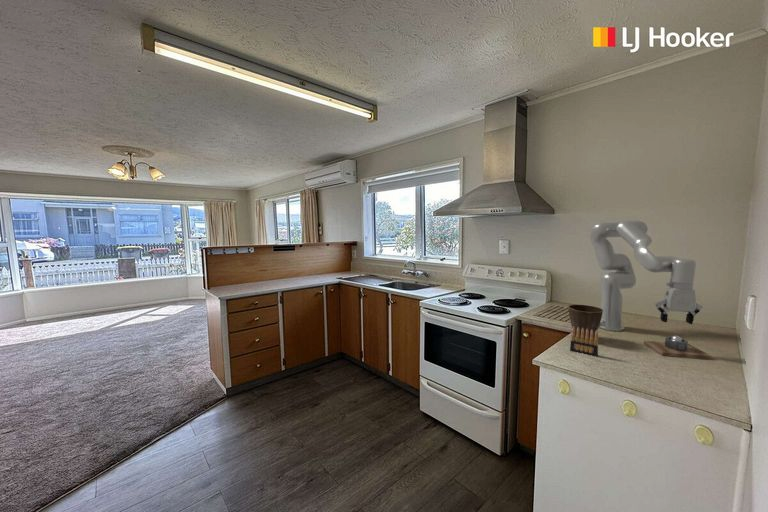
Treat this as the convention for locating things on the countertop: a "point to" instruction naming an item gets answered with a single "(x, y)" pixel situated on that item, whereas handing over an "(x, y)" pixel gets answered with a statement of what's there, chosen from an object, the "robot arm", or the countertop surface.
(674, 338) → the silver egg
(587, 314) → the plant pot
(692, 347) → the base plate
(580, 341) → the ammunition clip
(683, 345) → the steel ring
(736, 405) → the countertop surface
